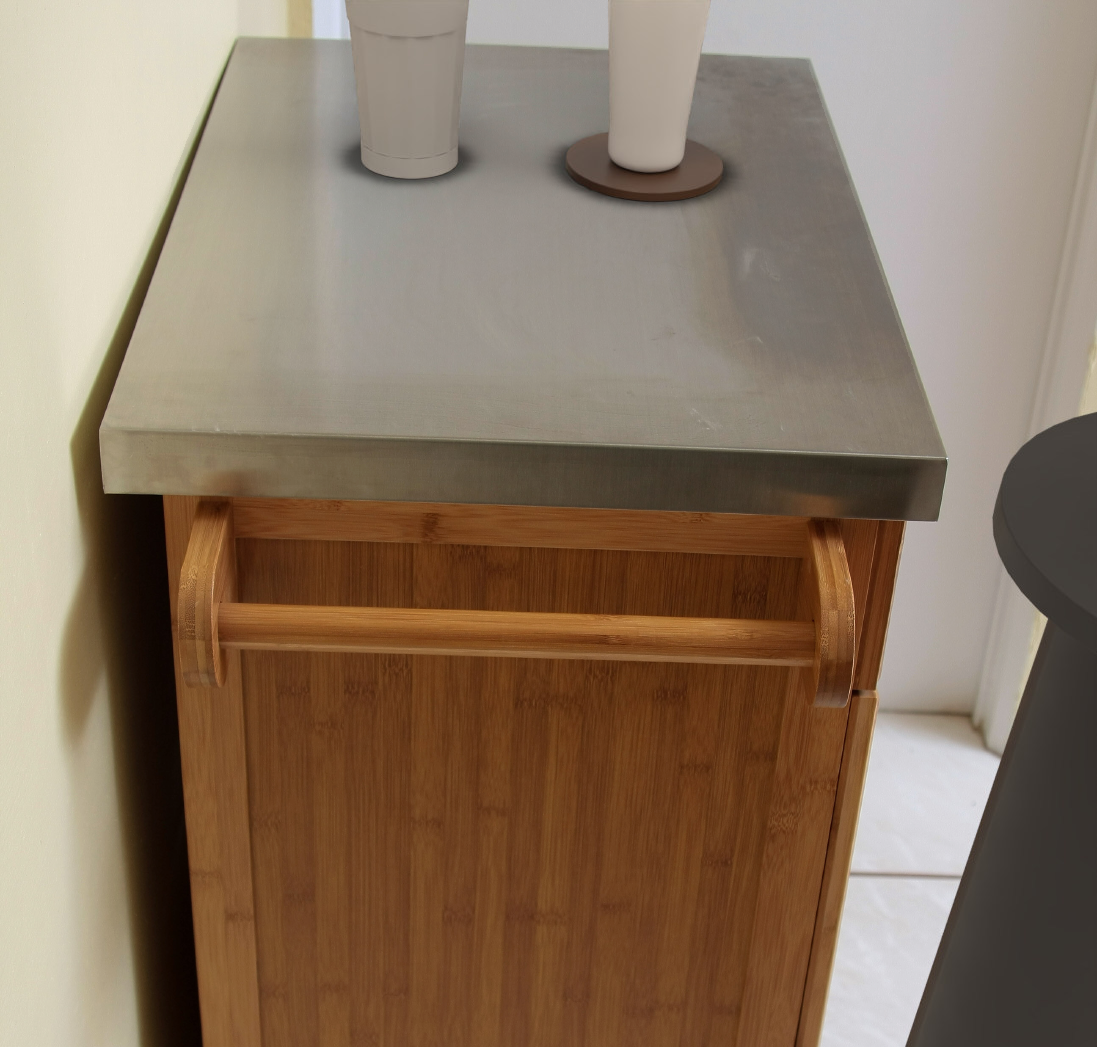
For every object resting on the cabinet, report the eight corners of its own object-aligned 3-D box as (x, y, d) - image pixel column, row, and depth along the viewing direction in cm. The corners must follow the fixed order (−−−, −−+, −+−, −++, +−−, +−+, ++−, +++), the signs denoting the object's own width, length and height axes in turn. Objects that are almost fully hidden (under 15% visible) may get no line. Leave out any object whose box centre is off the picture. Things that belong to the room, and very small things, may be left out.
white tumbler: (712, 168, 107) (741, -69, 97) (634, 187, 105) (655, -56, 94) (654, 135, 111) (675, -96, 101) (577, 152, 109) (591, -85, 98)
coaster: (751, 167, 110) (752, 159, 109) (665, 215, 103) (666, 206, 102) (624, 126, 114) (625, 118, 114) (534, 170, 107) (534, 161, 107)
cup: (384, 127, 112) (379, -66, 103) (490, 150, 110) (493, -46, 101) (326, 168, 106) (315, -34, 97) (437, 192, 104) (435, -11, 95)
